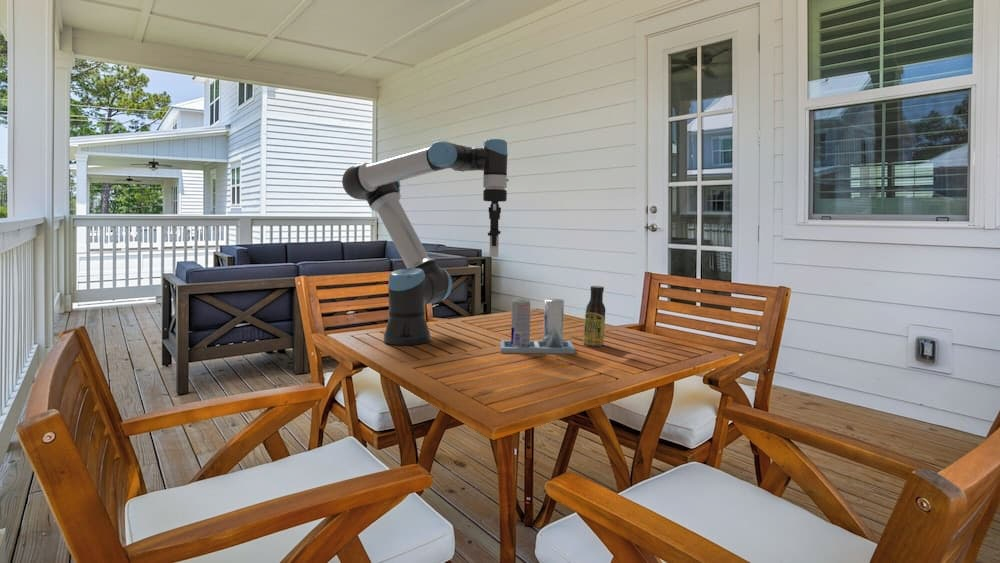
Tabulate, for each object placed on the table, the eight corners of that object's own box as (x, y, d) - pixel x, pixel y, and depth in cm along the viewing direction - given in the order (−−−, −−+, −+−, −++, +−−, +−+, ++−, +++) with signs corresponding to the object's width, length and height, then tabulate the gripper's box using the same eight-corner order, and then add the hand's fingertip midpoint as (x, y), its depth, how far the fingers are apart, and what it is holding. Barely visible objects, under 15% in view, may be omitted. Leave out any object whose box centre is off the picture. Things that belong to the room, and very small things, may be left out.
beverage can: (533, 348, 166) (534, 299, 164) (522, 352, 162) (523, 302, 160) (518, 345, 170) (518, 298, 168) (507, 349, 165) (508, 300, 163)
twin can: (539, 349, 165) (540, 300, 164) (550, 345, 170) (551, 298, 168) (555, 352, 162) (556, 302, 160) (566, 348, 166) (567, 300, 165)
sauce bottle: (580, 349, 171) (582, 286, 168) (587, 345, 176) (588, 284, 174) (600, 352, 168) (602, 288, 165) (606, 347, 173) (608, 285, 171)
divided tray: (500, 356, 161) (500, 348, 161) (500, 348, 171) (500, 340, 170) (574, 357, 161) (575, 348, 161) (570, 348, 171) (570, 340, 171)
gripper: (507, 187, 162) (505, 258, 165) (506, 190, 187) (505, 252, 190) (482, 187, 162) (481, 258, 165) (484, 190, 187) (483, 252, 190)
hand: (494, 255), depth 177 cm, fingers open, 13 cm apart
